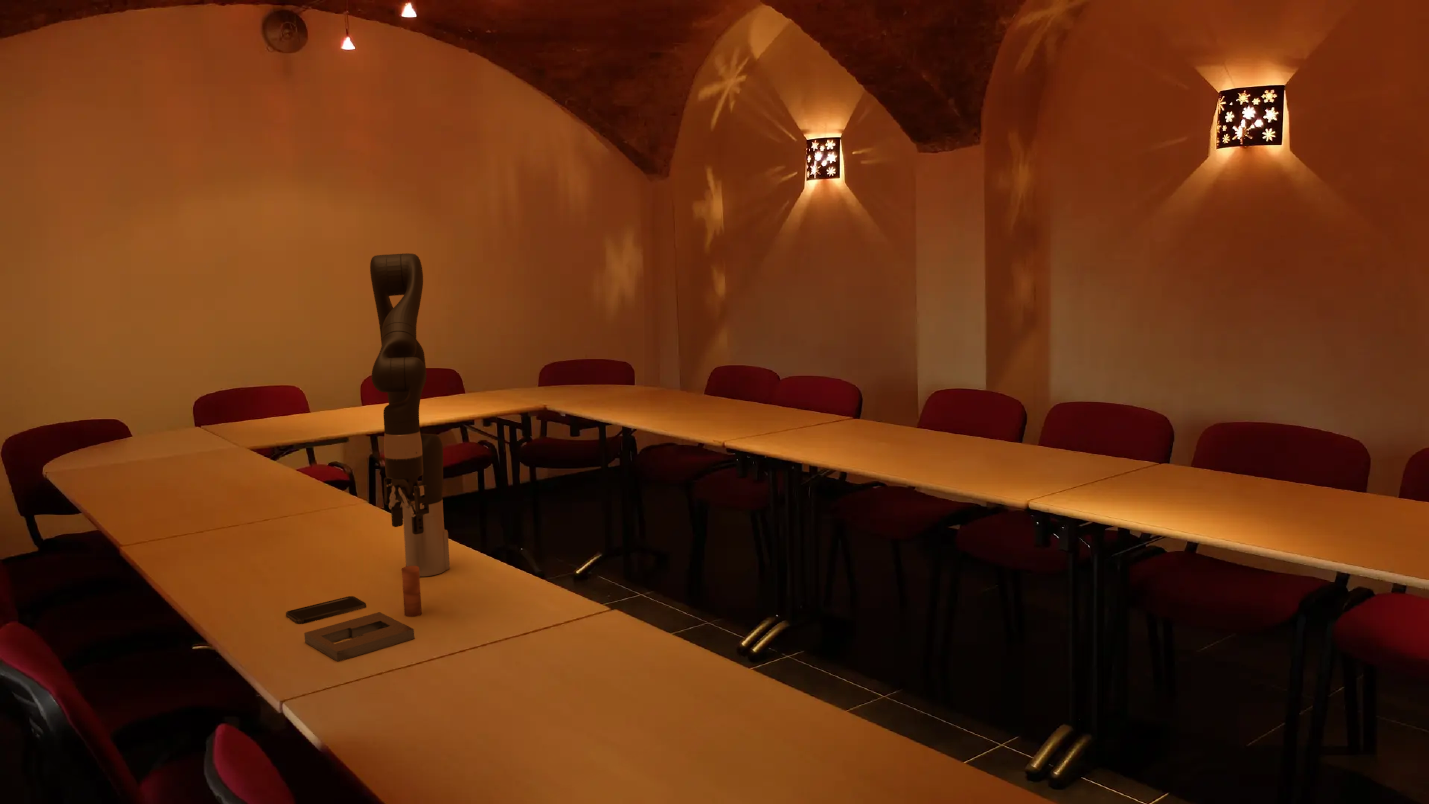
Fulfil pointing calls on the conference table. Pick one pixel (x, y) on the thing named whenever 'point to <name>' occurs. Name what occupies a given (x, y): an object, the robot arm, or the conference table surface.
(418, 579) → the peg
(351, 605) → the phone
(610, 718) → the conference table surface
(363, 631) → the keyhole plate
